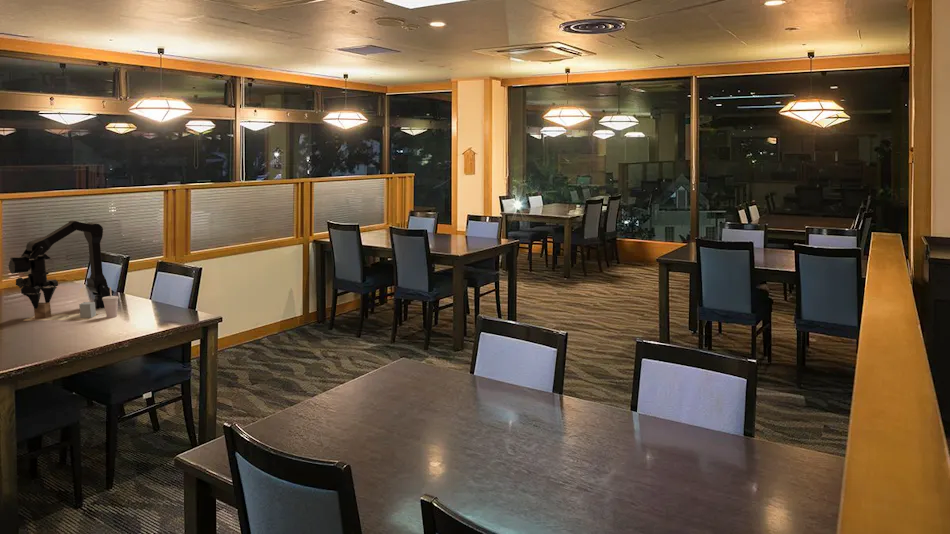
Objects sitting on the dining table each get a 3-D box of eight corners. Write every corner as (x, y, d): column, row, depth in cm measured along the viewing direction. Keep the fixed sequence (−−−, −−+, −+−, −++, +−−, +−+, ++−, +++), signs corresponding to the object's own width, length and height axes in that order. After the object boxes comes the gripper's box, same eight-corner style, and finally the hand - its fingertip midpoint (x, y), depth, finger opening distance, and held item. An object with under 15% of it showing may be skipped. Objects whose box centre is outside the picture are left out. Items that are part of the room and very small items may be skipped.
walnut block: (51, 316, 312) (50, 302, 312) (45, 318, 308) (44, 304, 307) (40, 316, 312) (39, 302, 311) (34, 318, 308) (33, 304, 307)
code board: (100, 315, 317) (100, 313, 317) (87, 322, 306) (87, 319, 305) (37, 316, 316) (37, 314, 316) (22, 322, 304) (22, 320, 304)
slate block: (96, 315, 314) (94, 302, 313) (91, 317, 309) (90, 304, 308) (85, 315, 313) (84, 302, 312) (80, 317, 309) (79, 304, 308)
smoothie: (123, 317, 314) (120, 286, 312) (114, 321, 308) (112, 289, 306) (109, 317, 315) (106, 285, 312) (100, 320, 308) (97, 288, 306)
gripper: (30, 267, 315) (34, 301, 318) (6, 274, 297) (9, 311, 300) (57, 266, 316) (60, 301, 319) (33, 274, 298) (37, 310, 300)
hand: (41, 306), depth 309 cm, fingers open, 9 cm apart
